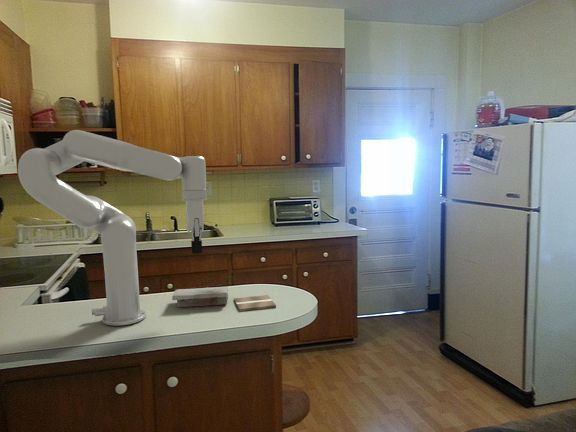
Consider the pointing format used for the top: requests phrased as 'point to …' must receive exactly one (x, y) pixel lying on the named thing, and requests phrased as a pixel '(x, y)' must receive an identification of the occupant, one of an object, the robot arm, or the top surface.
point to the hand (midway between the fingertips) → (196, 252)
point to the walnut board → (254, 303)
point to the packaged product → (201, 296)
